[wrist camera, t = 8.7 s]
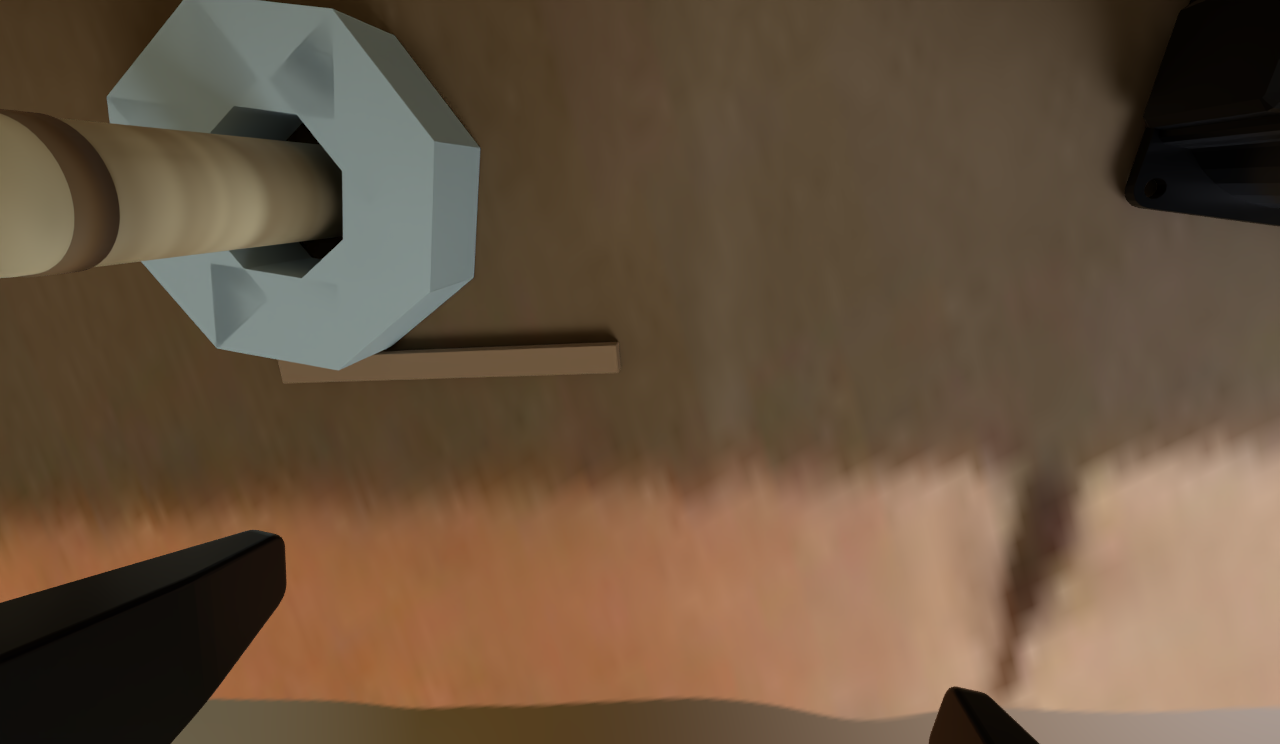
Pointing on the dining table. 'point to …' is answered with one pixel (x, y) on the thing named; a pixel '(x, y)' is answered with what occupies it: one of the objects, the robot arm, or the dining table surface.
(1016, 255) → the dining table surface
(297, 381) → the brown wooden stick
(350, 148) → the bead
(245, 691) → the dining table surface
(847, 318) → the dining table surface
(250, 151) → the beige wooden cylinder
